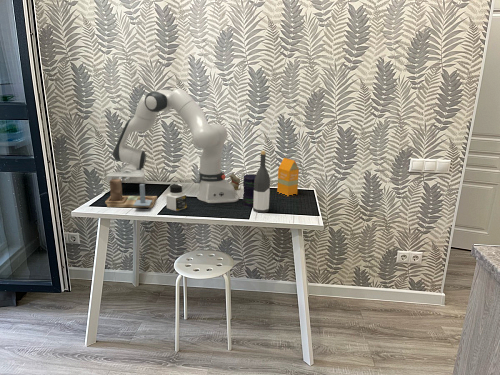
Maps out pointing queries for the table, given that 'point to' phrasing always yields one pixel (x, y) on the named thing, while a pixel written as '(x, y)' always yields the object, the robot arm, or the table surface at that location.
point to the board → (130, 201)
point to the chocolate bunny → (234, 181)
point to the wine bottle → (261, 188)
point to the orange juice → (288, 177)
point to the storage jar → (248, 190)
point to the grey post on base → (142, 198)
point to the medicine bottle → (176, 198)
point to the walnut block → (116, 190)
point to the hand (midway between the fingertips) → (122, 181)
